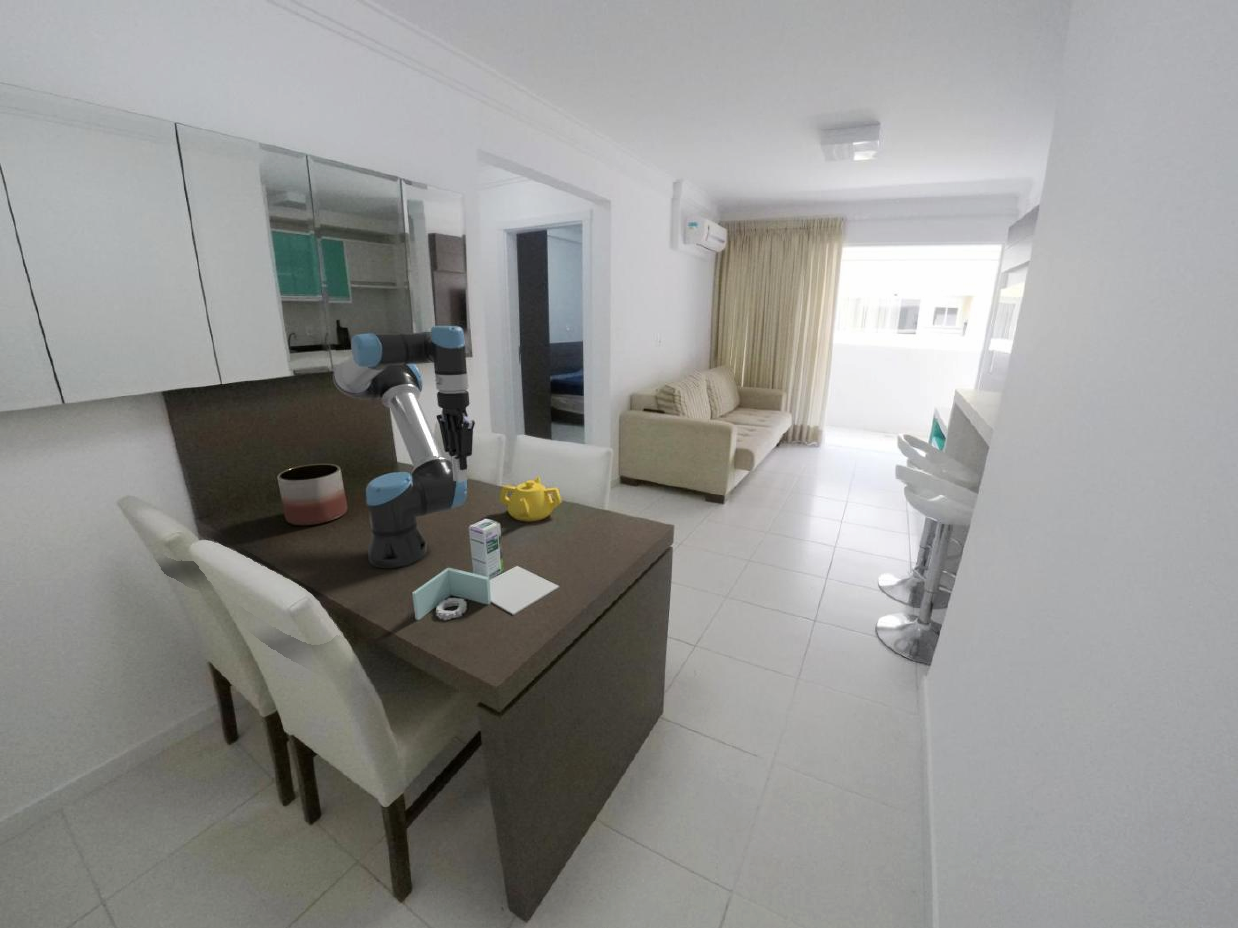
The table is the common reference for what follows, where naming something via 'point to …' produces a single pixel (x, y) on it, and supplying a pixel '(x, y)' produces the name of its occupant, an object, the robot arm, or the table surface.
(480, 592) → the l-shaped corner panel
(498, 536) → the syrup box
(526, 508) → the teapot
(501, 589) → the mat
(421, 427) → the robot arm
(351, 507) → the table surface
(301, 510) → the planter
